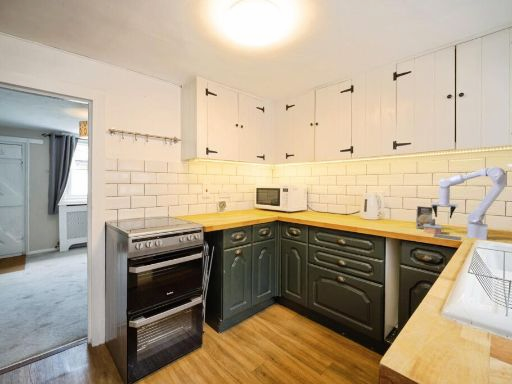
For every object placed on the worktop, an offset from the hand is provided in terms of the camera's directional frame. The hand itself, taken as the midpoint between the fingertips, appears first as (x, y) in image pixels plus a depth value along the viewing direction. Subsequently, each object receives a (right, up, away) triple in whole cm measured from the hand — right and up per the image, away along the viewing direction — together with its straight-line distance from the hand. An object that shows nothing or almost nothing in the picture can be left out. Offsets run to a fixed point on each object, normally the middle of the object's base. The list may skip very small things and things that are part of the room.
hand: (443, 217), depth 165 cm
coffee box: (-2, -10, +16) cm, 19 cm away
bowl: (-7, -10, 0) cm, 13 cm away
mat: (-8, -11, -14) cm, 19 cm away
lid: (-7, -6, 0) cm, 9 cm away
